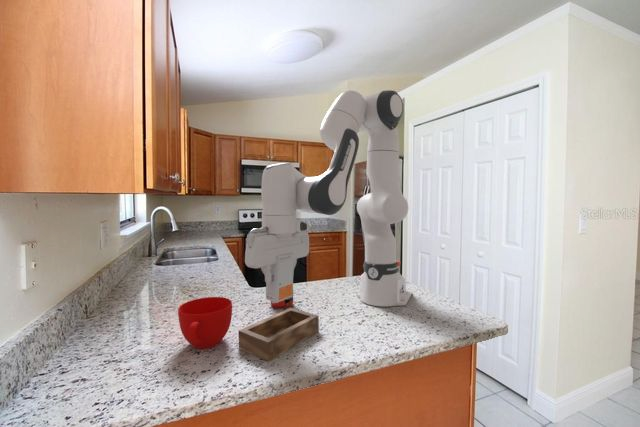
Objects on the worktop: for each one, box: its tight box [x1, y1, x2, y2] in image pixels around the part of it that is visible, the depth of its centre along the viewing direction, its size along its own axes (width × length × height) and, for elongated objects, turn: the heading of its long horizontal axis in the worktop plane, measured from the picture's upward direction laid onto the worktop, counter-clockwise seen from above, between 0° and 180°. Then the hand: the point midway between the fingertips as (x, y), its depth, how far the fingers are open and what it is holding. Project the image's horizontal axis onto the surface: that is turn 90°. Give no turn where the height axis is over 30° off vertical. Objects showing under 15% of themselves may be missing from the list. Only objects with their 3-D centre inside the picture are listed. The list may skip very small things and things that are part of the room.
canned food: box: [270, 293, 294, 310], centre depth 104 cm, size 8×8×11 cm
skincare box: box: [265, 253, 295, 303], centre depth 78 cm, size 6×4×12 cm
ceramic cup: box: [177, 296, 233, 350], centre depth 75 cm, size 13×17×10 cm
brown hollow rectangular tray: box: [237, 307, 320, 363], centre depth 79 cm, size 19×10×4 cm, turn 143°
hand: (279, 278), depth 78 cm, fingers closed on skincare box, 6 cm apart
